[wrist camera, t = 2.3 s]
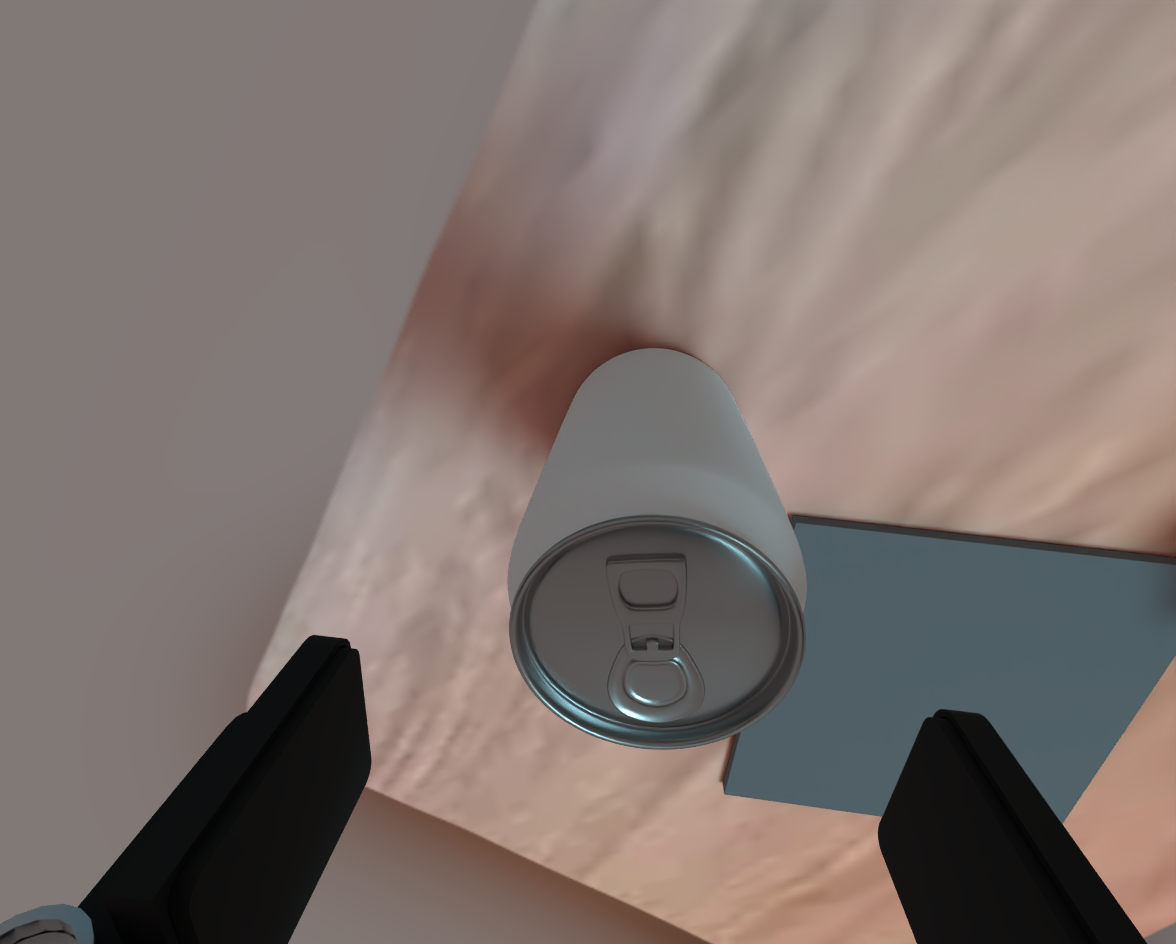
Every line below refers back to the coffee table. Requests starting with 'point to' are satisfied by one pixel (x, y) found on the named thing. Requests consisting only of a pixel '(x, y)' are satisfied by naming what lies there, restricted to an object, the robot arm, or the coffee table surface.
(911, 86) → the coffee table surface
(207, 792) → the robot arm
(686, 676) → the can
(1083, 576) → the mat
